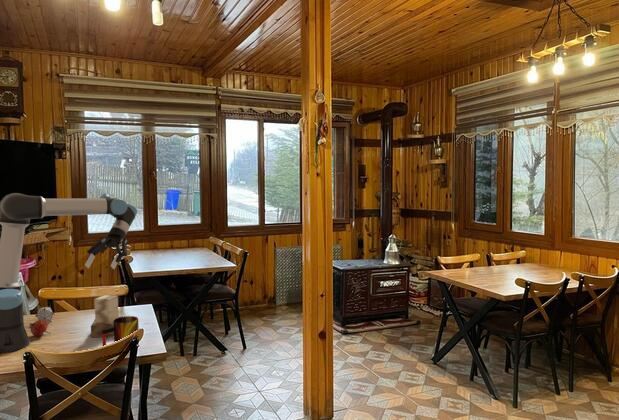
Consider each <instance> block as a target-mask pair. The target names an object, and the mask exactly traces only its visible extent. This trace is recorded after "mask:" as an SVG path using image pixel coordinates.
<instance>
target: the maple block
mask: <svg viewBox="0 0 619 420" xmlns="http://www.w3.org/2000/svg"><path fill="white" fill-rule="evenodd" d="M93 300H94V301H93V302H94V315H95V316H94V317H95V319H94V320H96V323H105V324H110V323H112V322H113V321H114V320H115V319H117V318H119V317H120V316H119V299H118V295H115V294H114V295H111V294H110V295H109V294H108V295H107V294H106V295H105V294H104V295H100V296H99V297H95V298H94V299H93Z"/></svg>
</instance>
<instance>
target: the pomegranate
mask: <svg viewBox="0 0 619 420" xmlns="http://www.w3.org/2000/svg"><path fill="white" fill-rule="evenodd" d="M29 325H31V326H30V332H31V334H32V335H33V336H34V337H36V338H37V337H38V338H40V337H42V336H43V335H44V333H48V334H50V335H51V332H49V331H47V330H48V327H49V326H48V325H49V321H48V322H47V321H45V320H38V319H37V320H36V321H35V322H33V323H29Z"/></svg>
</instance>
